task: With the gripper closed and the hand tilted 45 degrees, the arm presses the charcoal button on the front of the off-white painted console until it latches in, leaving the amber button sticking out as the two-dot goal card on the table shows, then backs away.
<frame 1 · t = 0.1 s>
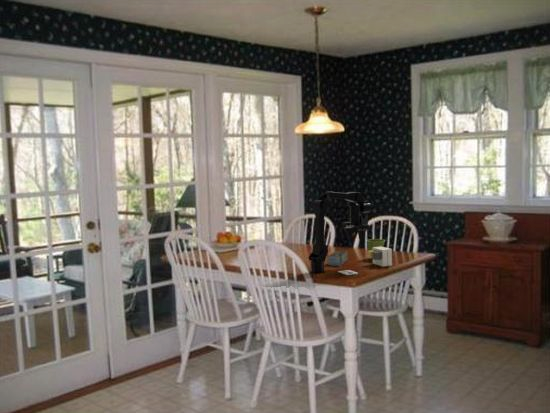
hand: (355, 240, 328), 15 cm above the table, tool pointing down, fingers open, 9 cm apart
console: (382, 264, 329), on the table
amber button: (372, 254, 330), point 6 cm above the table, slide at 0.0 cm
plant pot: (376, 258, 350), on the table
charcoal button: (377, 255, 325), point 6 cm above the table, slide at 0.0 cm
goal card: (348, 272, 309), on the table
beverage carton: (338, 263, 340), on the table
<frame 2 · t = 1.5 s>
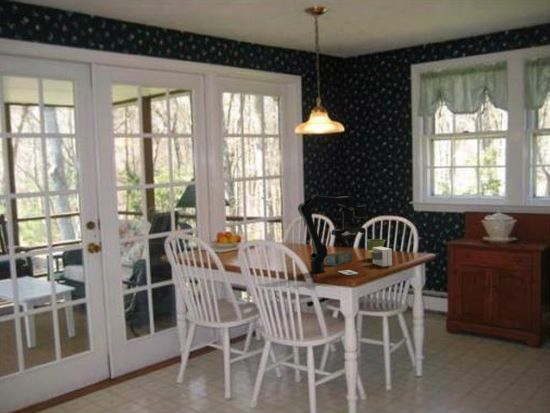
hand: (349, 246, 318), 13 cm above the table, tool pointing down, fingers closed
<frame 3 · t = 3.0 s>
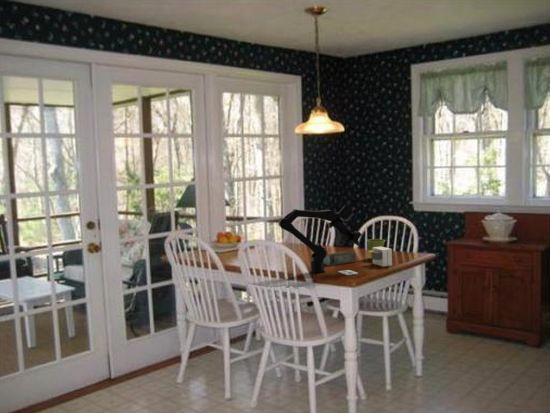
hand: (358, 244, 319), 13 cm above the table, tool tilted 45°, fingers closed
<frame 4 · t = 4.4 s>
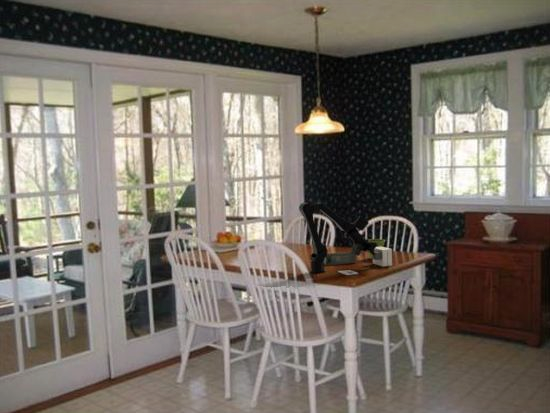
hand: (374, 254, 324), 7 cm above the table, tool tilted 45°, fingers closed, pressing on charcoal button
charcoal button: (377, 255, 325), point 6 cm above the table, slide at 0.4 cm, touching gripper
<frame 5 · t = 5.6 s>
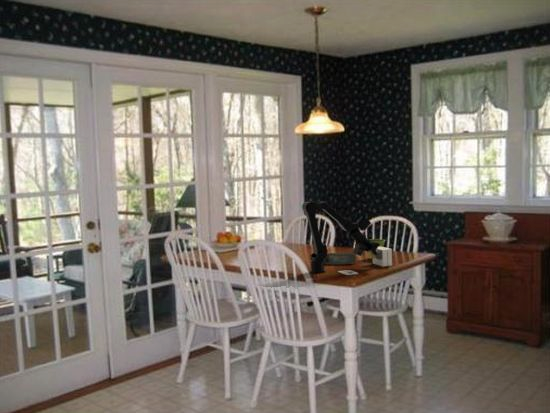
hand: (376, 254, 324), 7 cm above the table, tool tilted 45°, fingers closed
charcoal button: (381, 255, 326), point 6 cm above the table, slide at 2.6 cm
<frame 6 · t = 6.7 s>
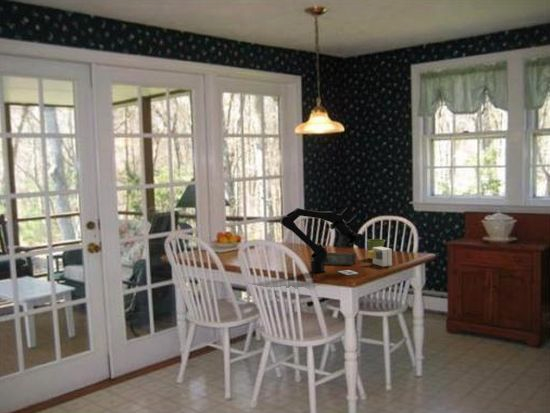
hand: (360, 246, 320), 12 cm above the table, tool tilted 45°, fingers closed
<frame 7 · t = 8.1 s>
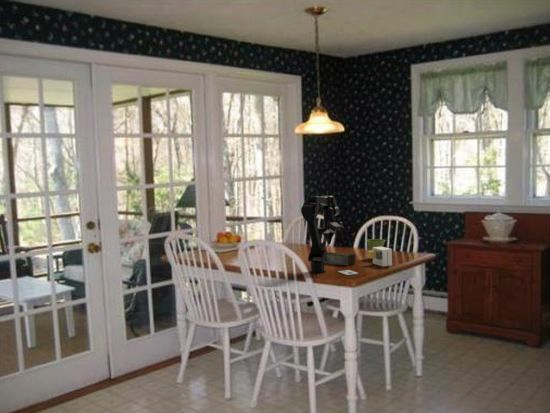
hand: (329, 244, 328), 13 cm above the table, tool pointing down, fingers closed
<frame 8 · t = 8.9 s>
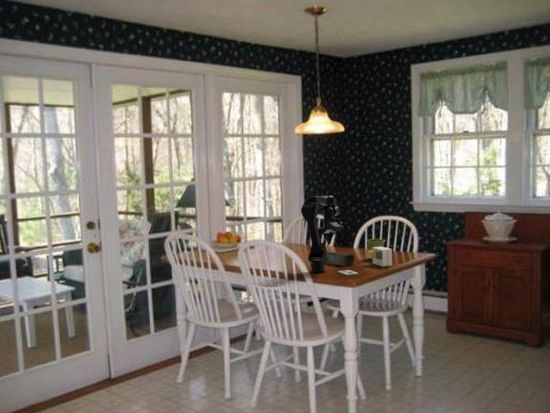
hand: (329, 244, 328), 13 cm above the table, tool pointing down, fingers closed
at the end: charcoal button slide at 2.6 cm; amber button slide at 0.0 cm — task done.
